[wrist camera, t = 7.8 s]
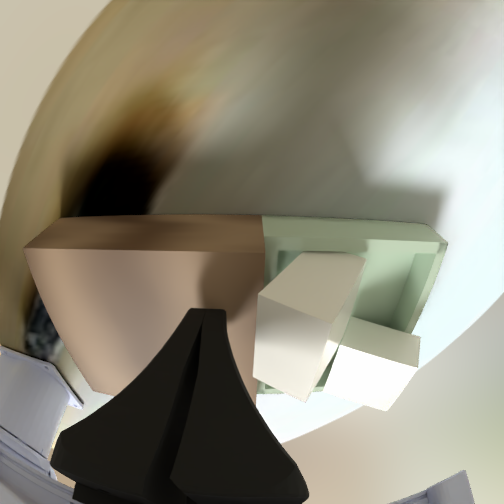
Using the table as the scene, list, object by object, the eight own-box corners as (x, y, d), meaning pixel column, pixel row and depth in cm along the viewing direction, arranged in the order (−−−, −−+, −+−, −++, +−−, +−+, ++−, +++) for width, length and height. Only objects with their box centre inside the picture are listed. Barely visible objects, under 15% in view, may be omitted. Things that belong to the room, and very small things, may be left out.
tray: (254, 367, 18) (254, 393, 16) (261, 215, 13) (264, 236, 11) (374, 360, 18) (383, 383, 16) (426, 224, 13) (448, 242, 11)
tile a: (386, 411, 13) (393, 382, 15) (417, 368, 11) (420, 336, 13) (322, 391, 15) (334, 364, 17) (339, 345, 13) (351, 316, 15)
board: (108, 354, 18) (92, 391, 15) (59, 217, 12) (22, 248, 9) (254, 367, 18) (255, 410, 15) (261, 215, 13) (265, 252, 10)
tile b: (252, 376, 11) (305, 402, 10) (258, 294, 9) (332, 323, 7) (299, 318, 14) (343, 335, 13) (312, 241, 12) (366, 259, 11)
